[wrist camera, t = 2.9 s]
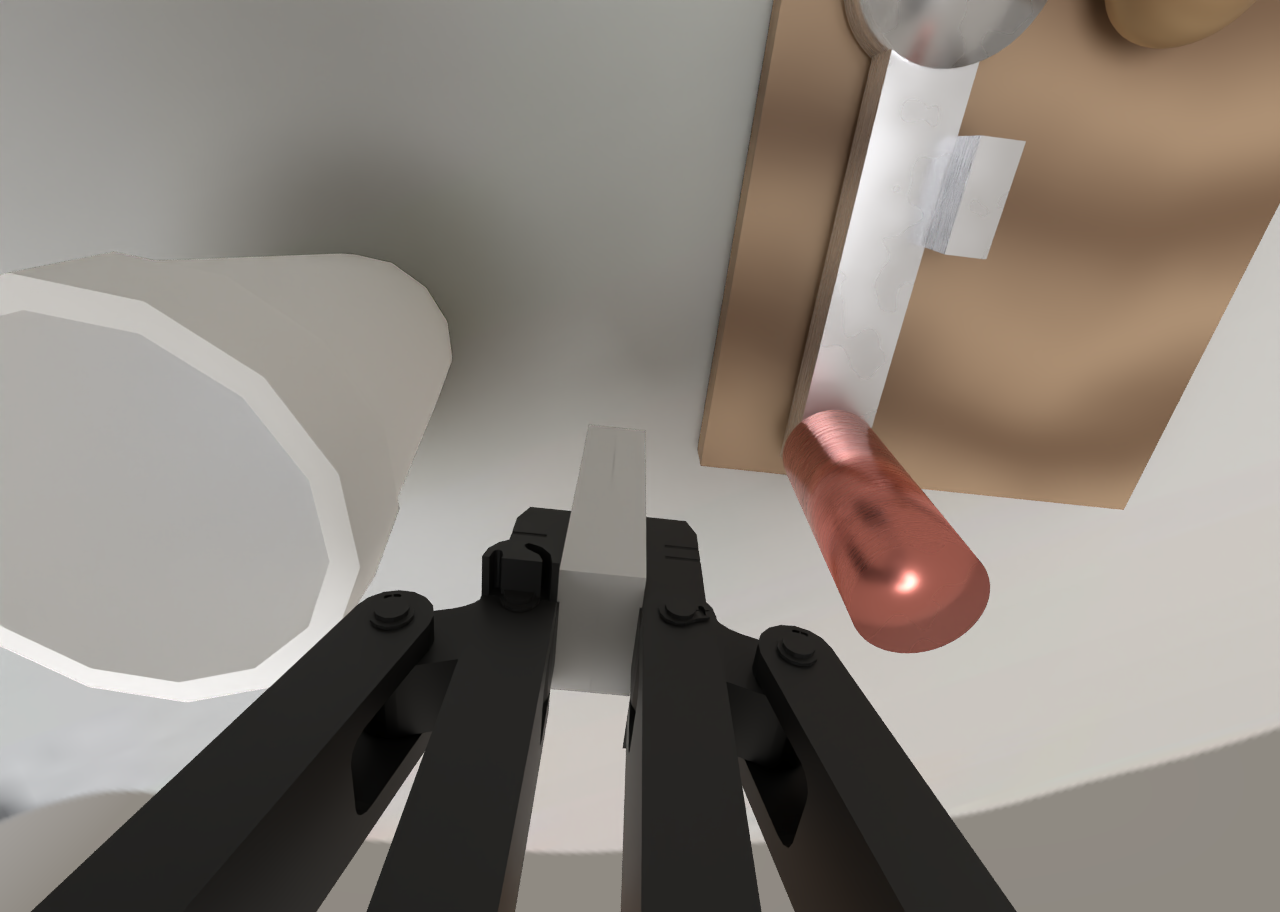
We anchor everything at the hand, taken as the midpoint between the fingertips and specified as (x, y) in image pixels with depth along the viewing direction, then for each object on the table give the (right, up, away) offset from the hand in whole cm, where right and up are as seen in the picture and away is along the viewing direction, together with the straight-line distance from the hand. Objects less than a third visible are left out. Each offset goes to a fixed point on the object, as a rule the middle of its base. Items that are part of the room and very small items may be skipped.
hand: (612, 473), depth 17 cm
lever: (+8, +8, +3) cm, 12 cm away
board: (+13, +10, +4) cm, 17 cm away
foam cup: (-10, +5, +7) cm, 13 cm away
